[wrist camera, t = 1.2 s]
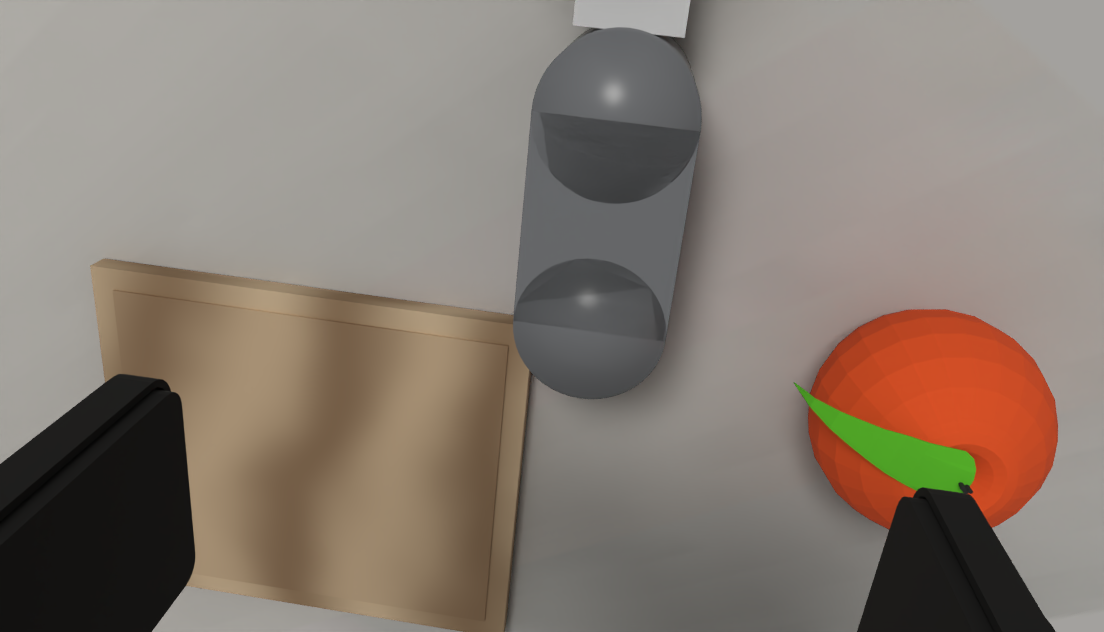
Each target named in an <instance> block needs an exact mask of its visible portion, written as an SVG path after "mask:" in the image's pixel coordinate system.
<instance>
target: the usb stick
mask: <svg viewBox="0 0 1104 632" xmlns="http://www.w3.org/2000/svg"><path fill="white" fill-rule="evenodd" d="M689 7H690V0H575V7H574V17H573V25H575V26H584V27H592V28H590V29H589V30H587V31H585V32H584V33H583V34H581V35H580V36H579V37H578V38H577V39H576V40H574V41H573V42H572V43H571V44H570V45H569V46H568V47H567V48H566V49H565V50H564V51H563V52H562V53H561V54H559V55H558V56H557V57H556V58H555V59H554V60H553V62H552V63H551V64H550V65H549V67H548V68H547V69H546V71H545V73H544V74H543V76H542V78H541V80H540V82H539V84H538V86H537V89H536V92H535V96H534V99H533V105H532V111H531V123H530V134H529V146H528V157H527V168H526V180H525V191H524V203H523V214H522V225H521V237H520V248H519V260H518V271H517V282H516V294H515V305H514V317H513V334H514V340H515V344H516V348H517V350H518V353H519V355H520V357H521V359H522V360H523V362H524V364H525V365H526V367H527V368H528V369H529V370H530V372H531V373H532V374H533V375H534V376H535V377H536V378H537V379H539V380H540V381H541V382H542V383H544V384H545V385H547V386H548V387H550V388H552V389H553V390H555V391H558V392H560V393H562V394H565V395H568V396H572V397H577V398H584V399H601V398H608V397H612V396H616V395H619V394H621V393H624V392H626V391H628V390H630V389H632V388H633V387H635V386H637V385H638V384H639V383H641V382H642V381H643V380H644V379H645V378H646V377H647V376H648V375H649V374H650V373H651V372H652V370H653V369H654V368H655V366H656V364H657V363H658V361H659V359H660V357H661V354H662V352H663V348H664V344H665V340H666V334H667V328H668V322H669V316H670V310H671V304H672V298H673V292H674V286H675V280H676V274H677V268H678V262H679V256H680V250H681V244H682V238H683V232H684V227H685V221H686V215H687V209H688V203H689V197H690V191H691V185H692V179H693V173H694V167H695V161H696V155H697V149H698V143H699V137H700V131H701V121H702V116H701V104H700V98H699V94H698V91H697V87H696V84H695V81H694V77H693V74H692V71H691V67H690V64H689V62H688V60H687V58H686V55H685V54H684V52H683V51H682V49H681V48H680V46H679V45H678V44H677V43H676V42H675V40H674V39H672V38H671V37H670V36H672V37H681V38H685V33H686V26H687V20H688V13H689Z"/></svg>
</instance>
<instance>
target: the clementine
mask: <svg viewBox="0 0 1104 632" xmlns="http://www.w3.org/2000/svg"><path fill="white" fill-rule="evenodd" d="M794 384H795V385H796V387H797V388H798V390H799V391H800V393H801V394H802V396H803V397H804V399H805V400H806V402H807V403H808V405H809V413H808V425H809V435H810V439H811V444H812V448H813V452H814V456H815V458H816V460H817V462H818V463H819V465H820V467H821V468H822V470H823V472H824V473H825V475H826V477H827V478H828V480H829V482H830V483H831V485H832V487H833V488H834V490H835V492H836V493H837V494H838V495H839V496H840V497H841V498H843V499H844V500H845V501H846V502H847V503H848V504H849V505H850V506H851V507H852V508H853V509H855V510H856V511H857V512H859V513H860V514H862V515H864V516H865V517H867V518H868V519H870V520H872V521H874V522H876V523H878V524H879V525H881V526H883V527H885V528H887V529H890V526H891V523H892V520H893V517H894V514H895V510H896V507H897V505H898V502H899V501H900V499H901V498H902V497H912V498H913V496H914V494H915V493H916V491H917V490H918V489H920V488H922V487H924V488H931V489H938V490H945V491H952V492H959V493H966V494H969V495H971V496H972V497H973V498H974V500H975V501H976V503H977V504H978V506H979V508H980V509H981V511H982V513H983V514H984V516H985V518H986V519H987V521H988V523H989V525H990V526H991V528H992V527H995V526H997V525H999V524H1001V523H1002V522H1004V521H1005V520H1007V519H1008V518H1010V517H1011V516H1013V515H1014V514H1016V513H1017V512H1018V511H1019V510H1020V509H1021V508H1022V507H1023V506H1024V505H1025V504H1026V503H1027V502H1028V501H1029V500H1030V499H1031V498H1032V497H1033V496H1034V495H1035V494H1036V492H1037V491H1038V490H1039V489H1040V488H1041V486H1042V484H1043V483H1044V481H1045V479H1046V477H1047V475H1048V473H1049V472H1050V470H1051V468H1052V466H1053V461H1054V456H1055V452H1056V447H1057V442H1058V422H1057V414H1056V405H1055V399H1054V397H1053V395H1052V393H1051V391H1050V389H1049V387H1048V385H1047V383H1046V381H1045V379H1044V377H1043V375H1042V373H1041V371H1040V369H1039V368H1038V366H1037V364H1036V362H1035V360H1034V359H1033V358H1032V357H1031V356H1030V355H1029V354H1028V353H1027V352H1026V351H1025V350H1024V349H1023V348H1022V347H1021V346H1020V345H1019V344H1018V343H1017V342H1016V341H1015V340H1014V339H1013V338H1011V337H1010V336H1008V335H1006V334H1005V333H1003V332H1002V331H1000V330H999V329H997V328H995V327H993V326H991V325H989V324H988V323H986V322H984V321H982V320H980V319H978V318H977V317H975V316H971V315H966V314H962V313H958V312H954V311H950V310H905V311H901V312H896V313H892V314H888V315H883V316H881V317H879V318H877V319H875V320H872V321H870V322H868V323H866V324H864V325H862V326H860V327H858V328H857V329H856V330H855V331H853V332H852V333H851V334H850V335H848V336H847V337H846V338H845V339H844V340H842V341H841V342H840V343H839V344H838V345H837V347H836V348H835V349H834V351H833V352H832V353H831V355H830V356H829V357H828V359H827V360H826V361H825V363H824V364H823V365H822V367H821V368H820V370H819V372H818V374H817V377H816V380H815V382H814V385H813V387H812V390H811V393H810V394H809V393H808V392H807V391H805V390H804V389H803V388H801V387H800V386H799V385H797V384H796V383H794Z"/></svg>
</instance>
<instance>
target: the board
mask: <svg viewBox="0 0 1104 632" xmlns="http://www.w3.org/2000/svg"><path fill="white" fill-rule="evenodd" d="M90 267H91V275H92V283H93V291H94V299H95V307H96V314H97V322H98V330H99V338H100V346H101V354H102V362H103V369H104V377H105V383H106V382H107V381H108V380H109V379H111V378H112V377H114V376H116V375H117V374H128V375H135V376H142V377H149V378H156V379H163V380H164V381H166V382H167V383H168V385H169V387H170V389H171V392H176V393H177V394H179V396H180V398H181V402H182V409H183V420H184V431H185V443H186V454H187V465H188V476H189V487H190V498H191V509H192V521H193V532H194V543H195V565H194V569H193V572H192V575H191V577H190V580H189V581H188V583H187V585H186V586H191V587H197V588H203V589H209V590H215V591H221V592H227V593H233V594H239V595H245V596H252V597H258V598H264V599H270V600H276V601H282V602H288V603H294V604H300V605H306V606H312V607H318V608H324V609H330V610H336V611H342V612H348V613H354V614H360V615H366V616H372V617H378V618H385V619H391V620H397V621H403V622H409V623H415V624H421V625H427V626H433V627H439V628H445V629H451V630H457V631H463V632H504V631H505V627H506V620H507V610H508V600H509V590H510V580H511V570H512V560H513V550H514V540H515V530H516V520H517V510H518V500H519V490H520V480H521V470H522V460H523V449H524V439H525V429H526V419H527V409H528V399H529V389H530V379H531V372H530V370H529V369H528V368H527V367H526V365H525V364H524V362H523V360H522V359H521V357H520V355H519V353H518V350H517V348H516V344H515V340H514V334H513V317H514V315H508V314H501V313H494V312H486V311H479V310H472V309H465V308H458V307H450V306H443V305H436V304H429V303H421V302H414V301H407V300H400V299H392V298H385V297H378V296H371V295H364V294H356V293H349V292H342V291H335V290H327V289H320V288H313V287H306V286H298V285H291V284H284V283H277V282H270V281H262V280H255V279H248V278H241V277H233V276H226V275H219V274H212V273H204V272H197V271H190V270H183V269H176V268H168V267H161V266H154V265H147V264H139V263H132V262H125V261H118V260H110V259H102V260H100V261H98V262H97V263H95V264H93V265H91V266H90Z"/></svg>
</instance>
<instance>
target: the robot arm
mask: <svg viewBox="0 0 1104 632" xmlns="http://www.w3.org/2000/svg"><path fill="white" fill-rule="evenodd" d="M194 565H195V543H194V532H193V521H192V509H191V498H190V487H189V476H188V465H187V454H186V443H185V431H184V420H183V409H182V402H181V398H180V396H179V394H177V393H176V392H171V389H170V387H169V385H168V383H167V382H166V381H164V380H163V379H156V378H149V377H142V376H135V375H128V374H117V375H116V376H114V377H112V378H111V379H109V380H108V381H107V382H106V383H104V384H103V385H102V386H100V387H99V388H98V389H96V390H95V391H94V392H93V393H91V394H90V395H89V396H87V397H86V398H85V399H84V400H82V401H81V402H80V403H78V404H77V405H76V406H75V407H73V408H72V409H71V410H69V411H68V412H67V413H66V414H64V415H63V416H62V417H60V418H59V419H58V420H56V421H55V422H54V423H53V424H51V425H50V426H49V427H47V428H46V429H45V430H44V431H42V432H41V433H40V434H38V435H37V436H36V437H35V438H33V439H32V440H31V441H29V442H28V443H27V444H26V445H24V446H23V447H22V448H20V449H19V450H18V451H17V452H15V453H14V454H13V455H11V456H10V457H9V458H7V459H6V460H5V461H4V462H2V463H1V464H0V632H152V630H153V629H154V628H155V626H156V625H157V624H158V622H159V621H160V620H161V618H162V617H163V616H164V614H165V613H166V612H167V610H168V609H169V608H170V606H171V605H172V604H173V602H174V601H175V600H176V598H177V597H178V596H179V594H180V593H181V591H182V590H183V589H184V587H185V586H186V585H187V583H188V581H189V580H190V577H191V575H192V572H193V569H194ZM857 632H1055V630H1054V629H1053V627H1052V625H1051V624H1050V623H1049V622H1048V620H1047V619H1046V618H1045V617H1044V615H1043V613H1042V612H1041V610H1040V608H1039V607H1038V605H1037V603H1036V602H1035V600H1034V598H1033V597H1032V595H1031V593H1030V591H1029V590H1028V588H1027V586H1026V585H1025V583H1024V581H1023V580H1022V578H1021V576H1020V575H1019V573H1018V571H1017V570H1016V568H1015V566H1014V565H1013V563H1012V561H1011V560H1010V558H1009V556H1008V555H1007V553H1006V551H1005V550H1004V548H1003V546H1002V545H1001V543H1000V541H999V540H998V538H997V536H996V535H995V533H994V531H993V530H992V528H991V526H990V525H989V523H988V521H987V519H986V518H985V516H984V514H983V513H982V511H981V509H980V508H979V506H978V504H977V503H976V501H975V500H974V498H973V497H972V496H971V495H969V494H966V493H959V492H952V491H945V490H938V489H931V488H924V487H922V488H920V489H918V490H917V491H916V493H915V494H914V496H913V498H912V497H902V498H901V499H900V501H899V502H898V505H897V507H896V510H895V514H894V517H893V520H892V523H891V526H890V529H889V533H888V536H887V539H886V542H885V545H884V548H883V552H882V555H881V558H880V561H879V564H878V567H877V571H876V574H875V577H874V580H873V583H872V586H871V590H870V593H869V596H868V599H867V602H866V605H865V608H864V612H863V615H862V618H861V621H860V624H859V627H858V631H857Z"/></svg>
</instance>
